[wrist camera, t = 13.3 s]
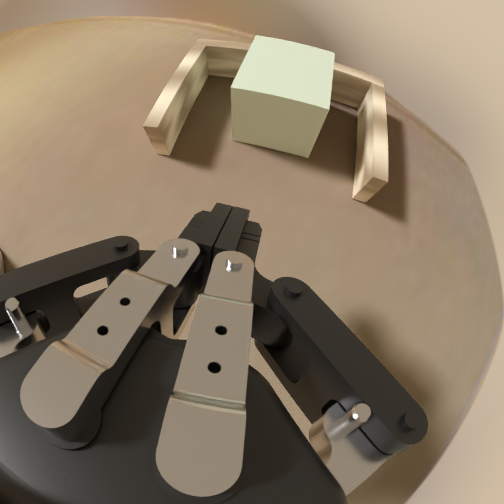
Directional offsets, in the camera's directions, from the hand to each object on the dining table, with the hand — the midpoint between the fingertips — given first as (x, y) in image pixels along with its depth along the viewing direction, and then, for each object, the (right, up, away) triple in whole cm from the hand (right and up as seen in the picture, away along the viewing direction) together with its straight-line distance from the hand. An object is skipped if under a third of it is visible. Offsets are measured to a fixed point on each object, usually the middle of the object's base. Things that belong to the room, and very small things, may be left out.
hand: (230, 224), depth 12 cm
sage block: (+4, +14, +15) cm, 21 cm away
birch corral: (+3, +13, +15) cm, 20 cm away
